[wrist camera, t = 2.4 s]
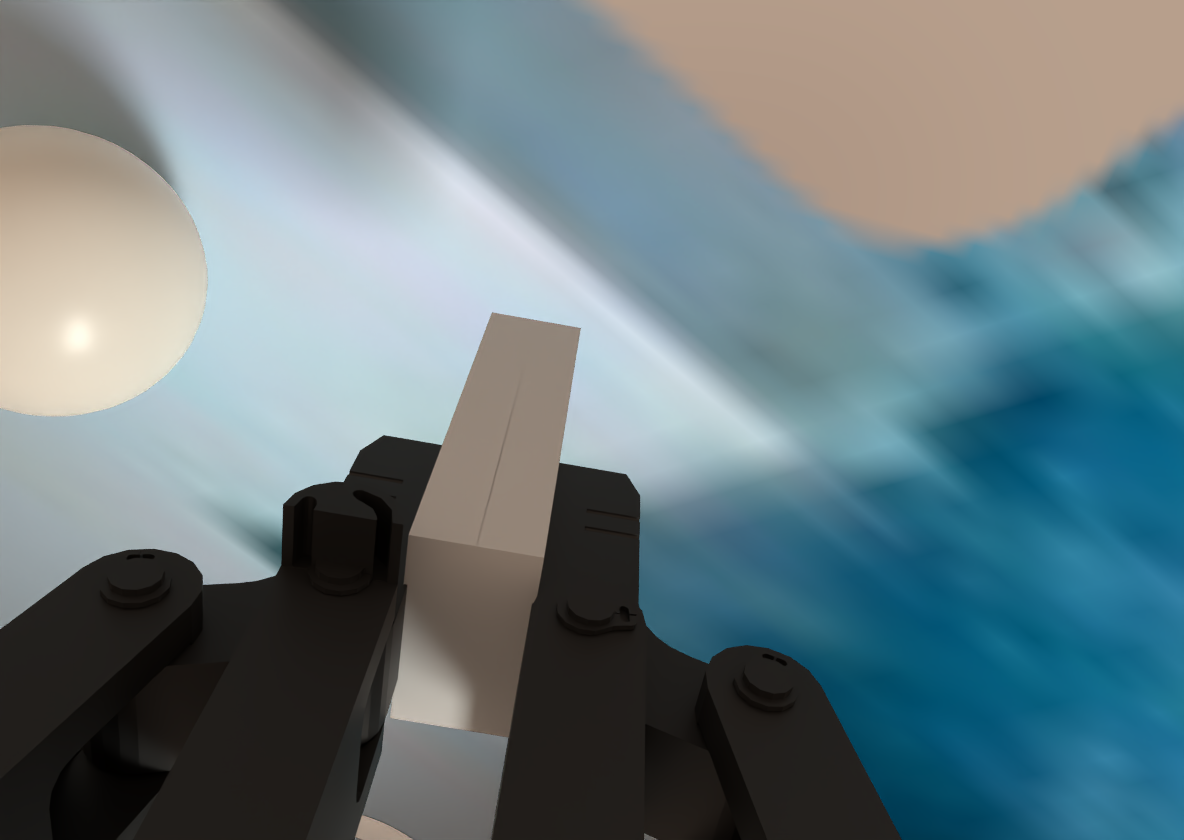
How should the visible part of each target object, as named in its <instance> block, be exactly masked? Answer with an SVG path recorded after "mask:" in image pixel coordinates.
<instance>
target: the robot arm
mask: <svg viewBox="0 0 1184 840" xmlns="http://www.w3.org/2000/svg"><path fill="white" fill-rule="evenodd" d="M580 329H581V328H577V327H571V326H565V325H560V324H554V323H548V322H543V321H537V320H531V319H526V318H520V317H514V316H509V315H503V314H497V313H492V314H491V317H490V319H489V322H488V325H487V327H486V330H485V333H484V335H483V338H482V341H481V343H480V346H479V349H478V351H477V354H476V357H475V359H474V362H473V365H472V367H471V370H470V373H469V375H468V378H467V381H466V383H465V386H464V389H463V391H462V394H461V397H460V399H459V402H458V405H457V407H456V410H455V412H454V415H453V418H452V420H451V423H450V426H449V428H448V431H447V434H446V436H445V439H444V442H443V444H442V445H438V444H432V443H426V442H420V441H414V440H409V439H403V438H397V437H391V436H385V435H383V436H382V437H380V438H379V439H377V440H376V441H374V442H373V443H371V444H370V445H368V446H366V447H365V448H363V449H362V450H360V452H359V454H358V456H357V458H356V460H355V462H354V464H353V466H352V467H351V469H350V473H349V475H347V477H346V479H345V481H344V482H331V483H325V484H318V485H313V486H310V487H308V488H306V489H303V490H301V491H299V492H296V493H295V494H294V495H293V496H291V497H290V498H289V499H288V500H287V501H286V502H285V503H284V504H283V529H282V563H281V567H280V569H279V571H278V573H277V575H276V576H273V577H270V578H266V579H262V580H259V581H253V582H244V583H233V584H213V585H203V576H202V574H201V572H200V571H199V570H198V568H197V567H196V565H195V564H194V563H193V562H192V561H190V560H188V559H186V558H184V557H182V556H181V555H179V554H177V553H172V552H167V551H162V550H157V549H139V550H126V551H122V552H118V553H115V554H111V555H107V556H103V557H102V558H100V559H98V560H96V561H94V562H92V563H90V564H89V565H87V566H85V567H83V568H82V569H80V570H79V571H78V572H76V573H75V574H74V575H72V576H71V577H70V578H68V579H67V580H66V581H64V582H63V583H62V584H60V585H59V586H58V587H56V588H55V589H54V590H52V591H51V592H50V593H48V594H47V595H46V596H44V597H43V598H42V599H40V600H39V601H38V602H36V603H35V604H34V605H32V606H31V607H30V608H28V609H27V610H26V611H24V612H23V613H22V614H20V615H19V616H18V617H16V618H15V619H14V620H12V621H11V622H10V623H8V624H7V625H6V626H4V627H3V628H2V629H0V840H354V839H355V836H356V833H357V830H358V826H359V823H360V820H361V817H362V813H363V810H364V807H365V804H366V800H367V797H368V794H369V791H370V788H371V784H372V781H373V778H374V775H375V771H376V768H377V765H378V762H379V758H380V755H381V751H382V741H383V731H384V721H385V718H386V715H387V711H388V708H389V705H390V702H391V699H392V705H391V715H390V718H393V719H399V720H405V721H411V722H417V723H424V724H430V725H436V726H442V727H448V728H454V729H460V730H467V731H473V732H479V733H485V734H491V735H497V736H503V737H509V738H508V744H507V750H506V755H505V761H504V767H503V772H502V778H501V783H500V789H499V795H498V800H497V806H496V812H495V819H494V825H493V831H492V836H491V840H644V833H645V834H648V835H650V836H652V837H654V838H656V839H658V840H902V839H901V838H900V836H899V834H898V832H897V830H896V828H895V826H894V824H893V822H892V820H891V818H890V817H889V815H888V813H887V811H886V809H885V807H884V805H883V803H882V801H881V799H880V798H879V796H878V794H877V792H876V790H875V788H874V786H873V784H872V782H871V780H870V778H869V777H868V775H867V773H866V771H865V769H864V767H863V765H862V763H861V761H860V759H859V757H858V756H857V754H856V752H855V750H854V748H853V746H852V744H851V742H850V740H849V738H848V737H847V735H846V733H845V731H844V729H843V727H842V725H841V723H840V721H839V719H838V717H837V716H836V714H835V712H834V710H833V708H832V706H831V704H830V702H829V700H828V698H827V696H826V695H825V693H824V691H823V689H822V687H821V686H820V684H819V683H818V682H817V680H816V679H815V678H814V677H813V675H812V674H811V673H810V671H809V670H807V669H806V668H805V667H803V666H802V665H800V664H799V663H798V662H796V661H795V660H793V659H792V658H791V657H789V656H786V655H784V654H781V653H779V652H776V651H774V650H771V649H769V648H762V647H755V646H748V645H745V646H739V647H732V648H726V649H725V650H723V651H722V652H720V653H718V654H717V655H715V656H713V657H712V659H711V661H710V663H709V664H707V663H705V662H702V661H700V660H697V659H695V658H692V657H690V656H687V655H685V654H683V653H681V652H679V651H677V650H675V649H673V648H671V647H669V646H668V645H667V644H665V643H664V642H663V641H661V640H660V639H659V638H657V637H656V636H655V635H654V634H653V633H652V631H651V630H650V629H649V628H648V627H647V626H646V623H645V620H644V616H643V613H642V610H641V609H640V608H639V604H638V596H639V535H640V522H639V519H640V495H639V493H638V492H637V490H636V489H635V487H634V486H633V484H632V482H631V481H630V479H629V478H628V476H627V475H626V474H621V473H615V472H609V471H604V470H598V469H592V468H586V467H580V466H574V465H569V464H563V463H559V461H560V454H561V448H562V442H563V436H564V429H565V423H566V417H567V411H568V404H569V398H570V392H571V385H572V379H573V373H574V367H575V360H576V354H577V348H578V342H579V335H580Z"/></svg>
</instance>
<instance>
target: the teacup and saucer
mask: <svg viewBox="0 0 1184 840" xmlns="http://www.w3.org/2000/svg"><path fill="white" fill-rule="evenodd" d="M355 837H356V838H359V839H362V840H413V839H411V838H410V837H408V836H407V835H405V834H404V833H402V832H400V831H398V830H397V829H395V828H393V827H391V826H389V825H387V824H385V823H382V822H380V821H378V820H375V819H372V818H369V817H367V816H363V815H362V817H361V820H360V823H359V826H358V830H357V833H356V836H355Z"/></svg>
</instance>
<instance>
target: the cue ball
mask: <svg viewBox="0 0 1184 840" xmlns="http://www.w3.org/2000/svg"><path fill="white" fill-rule="evenodd" d="M207 286H208V277H207V264H206V258H205V252H204V249H203V245H202V242H201V239H200V235H199V232H198V230H197V228H196V225H195V223H194V221H193V219H192V217H191V215H190V213H189V212H188V210H187V208H186V206H185V205H184V203H183V202H182V200H181V199H180V198H179V196H178V195H177V194H176V192H175V191H174V190H173V189H172V187H171V186H170V185H169V184H168V183H167V182H166V181H165V180H164V179H163V178H162V177H161V176H160V175H159V174H158V173H157V172H156V171H155V170H153V169H152V168H151V167H150V166H149V165H147V164H146V163H145V162H143V161H142V160H140V159H139V158H138V157H136V156H135V155H133V154H132V153H130V152H129V151H127V150H125V149H123V148H122V147H120V146H118V145H116V144H114V143H112V142H110V141H107V140H105V139H102V138H100V137H98V136H94V135H91V134H87V133H84V132H80V131H77V130H73V129H69V128H63V127H57V126H40V125H19V126H10V127H3V128H0V408H2V409H5V410H9V411H13V412H17V413H22V414H28V415H35V416H74V415H82V414H87V413H91V412H96V411H100V410H105V409H108V408H111V407H114V406H116V405H119V404H121V403H124V402H126V401H128V400H130V399H132V398H134V397H136V396H138V395H140V394H141V393H143V392H145V391H146V390H148V389H149V388H150V387H152V386H153V385H154V384H156V383H157V382H158V381H159V380H161V379H162V378H163V377H164V376H166V375H167V374H168V373H169V372H170V370H171V369H172V368H173V367H174V366H175V365H176V364H177V363H178V361H179V360H180V359H181V358H182V357H183V355H184V354H185V352H186V351H187V349H188V348H189V346H190V345H191V343H192V341H193V338H194V336H195V334H196V332H197V330H198V327H199V325H200V323H201V320H202V316H203V313H204V309H205V303H206V295H207Z"/></svg>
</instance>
